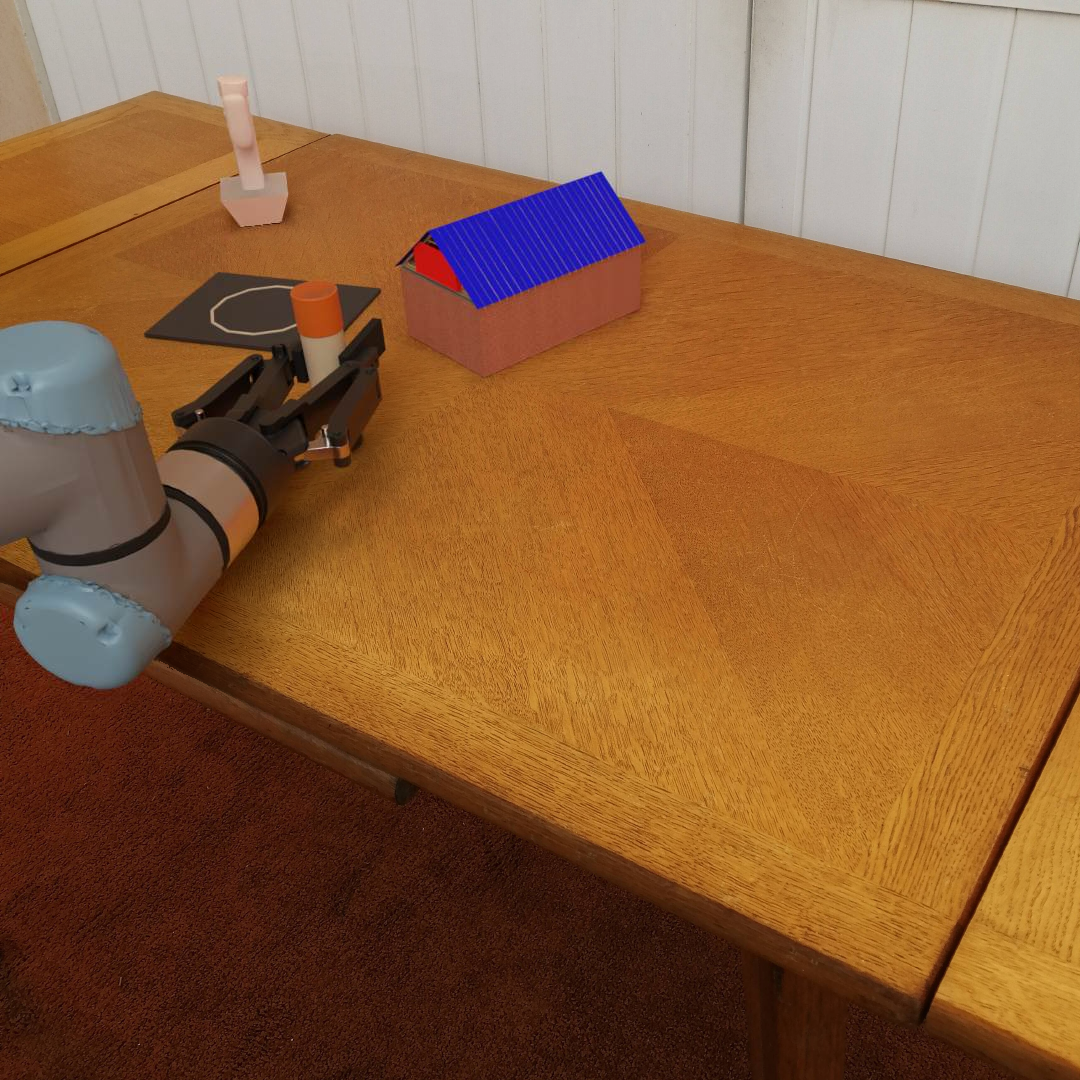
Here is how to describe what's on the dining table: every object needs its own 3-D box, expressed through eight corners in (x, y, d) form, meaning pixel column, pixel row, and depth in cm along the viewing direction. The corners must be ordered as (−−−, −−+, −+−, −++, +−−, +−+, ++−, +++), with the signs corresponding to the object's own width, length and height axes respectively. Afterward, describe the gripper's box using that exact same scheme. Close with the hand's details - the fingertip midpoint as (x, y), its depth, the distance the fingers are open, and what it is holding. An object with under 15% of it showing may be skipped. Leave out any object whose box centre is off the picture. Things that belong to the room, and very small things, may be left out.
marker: (314, 450, 89) (281, 297, 81) (332, 428, 92) (302, 278, 83) (353, 455, 88) (325, 302, 80) (370, 433, 91) (344, 282, 82)
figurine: (291, 200, 131) (264, 62, 121) (295, 230, 124) (267, 87, 114) (227, 206, 129) (195, 68, 120) (228, 237, 122) (194, 93, 113)
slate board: (144, 337, 105) (143, 332, 104) (218, 275, 115) (217, 270, 115) (320, 357, 101) (320, 352, 101) (381, 291, 111) (380, 287, 111)
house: (645, 308, 108) (647, 187, 100) (483, 380, 98) (472, 251, 90) (562, 271, 115) (558, 155, 107) (403, 334, 104) (386, 211, 97)
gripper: (115, 524, 76) (274, 362, 93) (334, 558, 73) (456, 384, 90) (81, 430, 71) (254, 277, 89) (314, 461, 68) (447, 297, 85)
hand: (356, 331), depth 89 cm, fingers closed on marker, 3 cm apart
